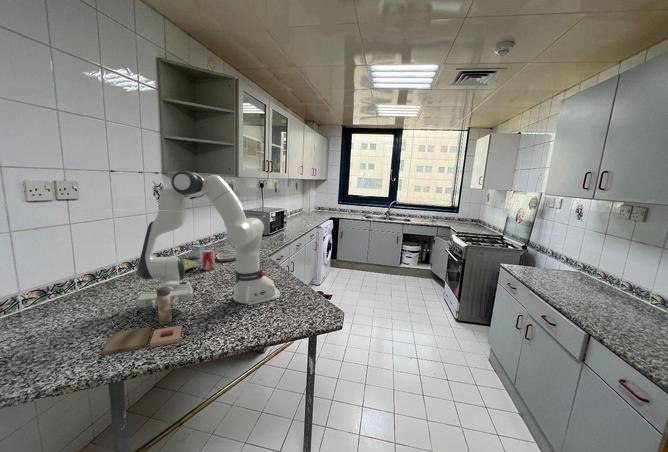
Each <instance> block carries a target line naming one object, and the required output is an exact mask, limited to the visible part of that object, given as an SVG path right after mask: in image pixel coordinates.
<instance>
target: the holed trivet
mask: <svg viewBox="0 0 668 452" xmlns="http://www.w3.org/2000/svg"><path fill="white" fill-rule="evenodd" d="M182 330H183V326H182V325H176V326H171V327H170V326H169V327H165V328H164V327H163V328H158V329H154V331H153V333H152V337H151V339H150V342H149V345H150V346H149V348H153V347H158V346H159V347H160V346H164V345H168V344H174V343H178V342H179V343H180V342H181V337H182Z"/></svg>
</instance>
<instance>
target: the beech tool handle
mask: <svg viewBox="0 0 668 452" xmlns="http://www.w3.org/2000/svg"><path fill="white" fill-rule="evenodd" d="M155 291H157V302H158V308H157V311H158V321H159V322H158V323H159V325H162V326H163V325H168V324H171V323H172V322H173V315H172V306H170V305H171V304H170V302H171V301H170V289H169V287H162V288H159V289H158V288H156V290H155Z"/></svg>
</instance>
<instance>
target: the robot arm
mask: <svg viewBox="0 0 668 452" xmlns="http://www.w3.org/2000/svg"><path fill="white" fill-rule="evenodd" d="M204 196H206V197H207V198H208V200H209V201H210V203H211V204H212V206H213V207H214V208H215V210H216V211H217V212H218V214H219V215H220V217H221V219H222V220H223V223H224V226H225V228H226V229H225V230H226V238H227V241H228V242H229V243H230V245H233V246H236V247H237V250H236V251H235V252H236V255H235V258H236V259H235V270H234V282H235V287H234V294H233V297H232V300H233V301H235V302H237V303H241V304H244V305H249V306H252V305H253V306H254V305H256V304H261V303H264V302H268V301H274V300H278V299H279V298H281V291H280V290H279V289H278V288H277V287H276V286H275V283H274V281H273V280H272V279H271V278H269V277H267V275H266V274H267V273H266V271H265V270H264V269H263V268H262V267H260V252H261V245H262V238H263V233H264V230H265V225H264V222H263V221H262V220H261V219H260V218H258V217H257V218H256V217H248V218H247V217H246V214H245V211H244V209H243V207H244V206H243V203H242V201H241V200H240V199H239V197H238V196H237V195H236V193H235V191H234V190H233V189H232V188H231V186H230V185H229V184H228V183H227V181H225V179H223V178H222V177H221V176H220V175H218V174H212V175H208V176H206V177H203V176H202V175H200V174H198V173H196V172H192V171H189V170H181V171H177V172H176V173H174V174H173V175H172V177H171V186H166V187H164V188H163V189H161V191H160V194H159V198H158V207H157V215H156V217H155V219H154V220H153V221H151V222H150V223H149V224H148V226H147V230H146V233H145V237H144V240H143V245H142V250H141V252H140V253H141V254H140V258H139V261H138V264H137V266H136V273H137V276H138V277H139V278H141V279H143V280H144V281H147V280H154V279H161V281H160V283H159V285H158V288H157V289H159V288H162V287H169V289H170V301H171V302H170V304H171V305H170V306H171V307H173V306H176V304H178V303H182V302H183V303H184V302H192V301H193V300H194V290H193V287H192V286H191V283H190V282H185V281H184V282H183V280H184V279H185V275H186V270H185V262H184V261H183V258H182V257H181V256H159V257H158V256H154V255H153V254H154V250H155V244H156V240H157V238H158V237H159V236H161V235H163V234H166V233H169V232H172V231H176V230H177V229H179V228H181V227H182V226H183V225H184V224H185V221H186V215H187V210H186V209H187V201H188V200H193V199H197V198H201V197H204ZM277 298H278V299H277ZM136 307H138V308H148V307H153V309H158V302H157V291H156V290H155V291H148V292H144V293H141V294H140V295H139V296H138V297H137V298H136Z"/></svg>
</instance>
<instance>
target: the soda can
mask: <svg viewBox="0 0 668 452" xmlns="http://www.w3.org/2000/svg"><path fill="white" fill-rule="evenodd" d="M215 259H216V255H215V251H214V250H213V249H210V248H209V249H204V251H203V253H202V259H201V261H202V262H201V263H202V269H203V270H205V271H212V270H214V269H215V268H216V261H215Z"/></svg>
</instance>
